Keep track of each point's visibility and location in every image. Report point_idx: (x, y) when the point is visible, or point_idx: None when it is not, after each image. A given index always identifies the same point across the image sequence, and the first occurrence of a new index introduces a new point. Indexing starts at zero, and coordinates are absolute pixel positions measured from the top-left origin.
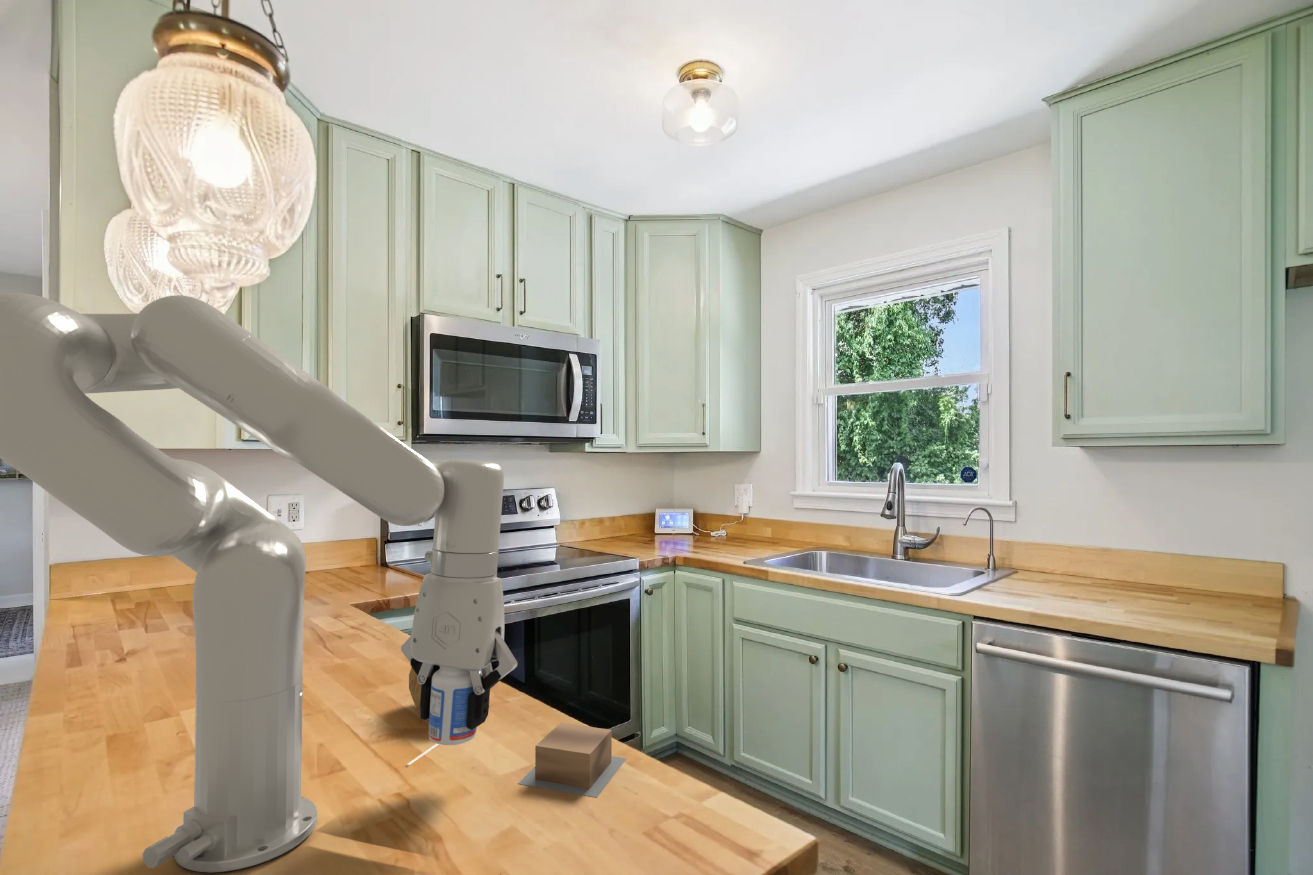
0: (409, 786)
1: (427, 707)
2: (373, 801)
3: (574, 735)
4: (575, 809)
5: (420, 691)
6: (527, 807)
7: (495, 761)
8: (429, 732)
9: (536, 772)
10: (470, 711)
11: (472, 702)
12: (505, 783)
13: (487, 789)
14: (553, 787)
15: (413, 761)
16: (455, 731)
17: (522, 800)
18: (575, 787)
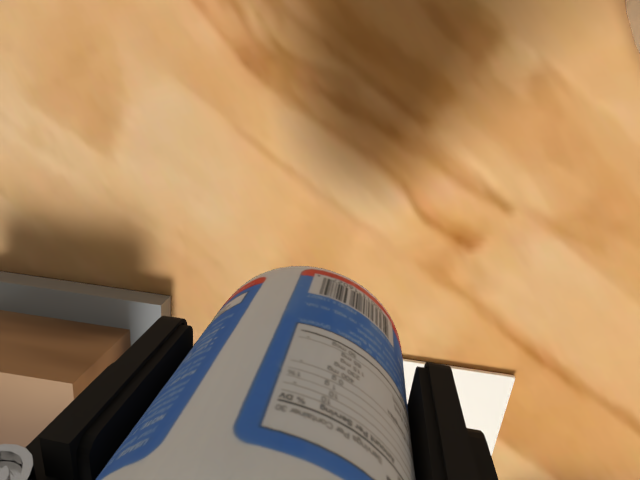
0: (454, 281)
1: (421, 409)
2: (518, 195)
3: None
4: (10, 247)
5: None
6: (115, 237)
7: None
8: (376, 308)
9: (115, 338)
10: (124, 362)
11: (79, 398)
12: None
13: None
14: (68, 300)
15: (502, 392)
16: (236, 299)
17: (142, 264)
18: (22, 309)
